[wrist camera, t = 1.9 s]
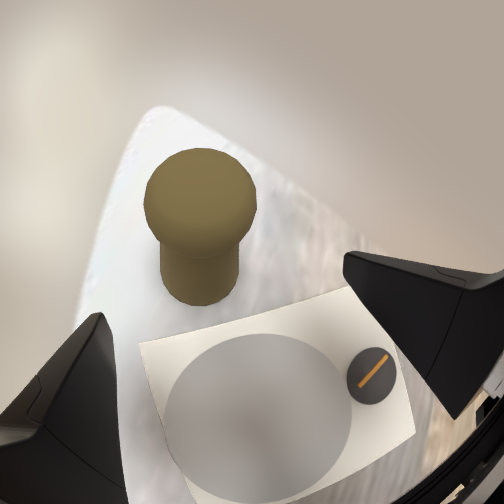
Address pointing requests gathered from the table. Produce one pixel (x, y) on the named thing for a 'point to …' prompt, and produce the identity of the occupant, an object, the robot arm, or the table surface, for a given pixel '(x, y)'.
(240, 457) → the kitchen scale
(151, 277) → the table surface
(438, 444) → the table surface
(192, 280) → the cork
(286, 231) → the table surface
